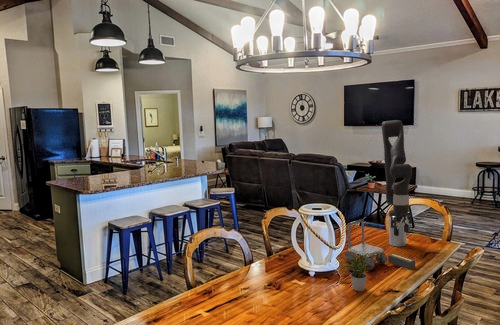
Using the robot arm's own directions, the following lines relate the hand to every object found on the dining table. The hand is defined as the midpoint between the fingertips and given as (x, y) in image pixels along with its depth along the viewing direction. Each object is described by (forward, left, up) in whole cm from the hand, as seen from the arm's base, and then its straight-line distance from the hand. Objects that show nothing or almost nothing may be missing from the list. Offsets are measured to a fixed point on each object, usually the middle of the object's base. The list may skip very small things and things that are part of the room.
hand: (401, 234), depth 197 cm
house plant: (+37, +3, -16) cm, 41 cm away
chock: (0, 0, -17) cm, 17 cm away
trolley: (+11, -14, -16) cm, 24 cm away
